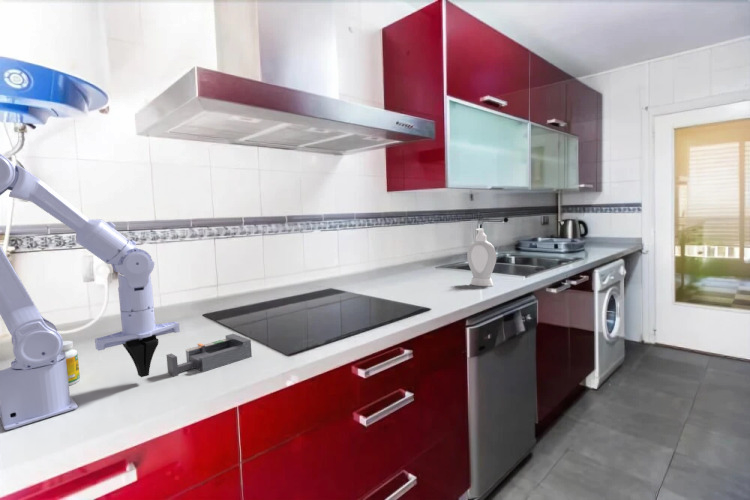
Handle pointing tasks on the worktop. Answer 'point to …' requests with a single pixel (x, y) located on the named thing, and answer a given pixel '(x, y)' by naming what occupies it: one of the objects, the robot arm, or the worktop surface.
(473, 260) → the soap bottle
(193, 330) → the worktop surface
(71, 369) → the supplement bottle
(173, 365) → the grey hook
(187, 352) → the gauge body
